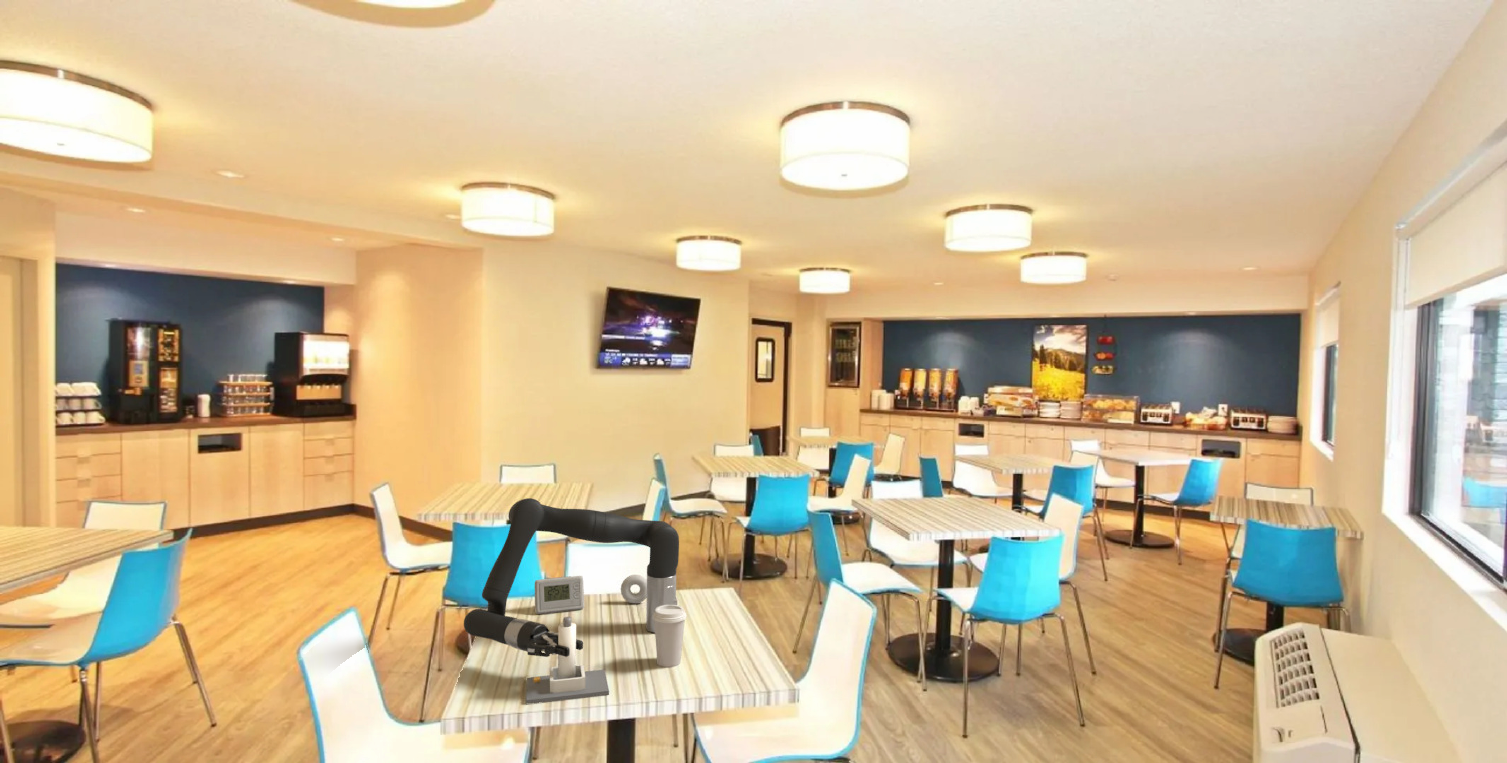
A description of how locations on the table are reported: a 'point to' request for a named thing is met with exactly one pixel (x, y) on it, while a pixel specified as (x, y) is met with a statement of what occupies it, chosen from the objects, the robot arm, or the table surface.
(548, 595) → the digital thermostat
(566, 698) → the floor socket
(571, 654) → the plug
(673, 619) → the coffee cup
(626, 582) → the donut
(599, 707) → the table surface
